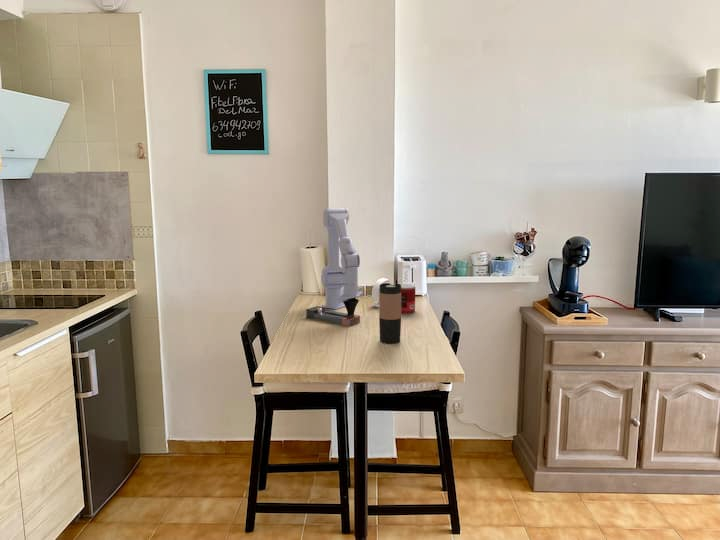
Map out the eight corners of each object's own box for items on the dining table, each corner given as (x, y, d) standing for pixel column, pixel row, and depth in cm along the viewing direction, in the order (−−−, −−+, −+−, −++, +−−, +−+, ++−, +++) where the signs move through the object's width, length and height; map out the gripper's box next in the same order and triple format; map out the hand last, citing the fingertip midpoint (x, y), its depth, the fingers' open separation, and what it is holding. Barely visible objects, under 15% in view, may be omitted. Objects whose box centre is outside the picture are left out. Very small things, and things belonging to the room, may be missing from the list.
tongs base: (306, 317, 227) (305, 308, 227) (317, 314, 233) (317, 305, 232) (349, 326, 215) (348, 316, 214) (359, 322, 220) (359, 313, 220)
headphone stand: (388, 306, 247) (389, 279, 245) (377, 308, 244) (377, 281, 242) (383, 304, 251) (383, 278, 249) (371, 305, 248) (371, 279, 246)
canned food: (415, 309, 242) (415, 284, 240) (415, 313, 234) (415, 287, 232) (397, 308, 243) (397, 283, 241) (396, 313, 235) (397, 287, 233)
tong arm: (324, 317, 227) (324, 311, 226) (329, 316, 229) (329, 310, 229) (355, 323, 218) (355, 317, 217) (360, 322, 220) (360, 315, 220)
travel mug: (386, 345, 191) (386, 288, 188) (375, 339, 198) (375, 284, 194) (405, 342, 194) (405, 285, 191) (393, 336, 201) (394, 282, 198)
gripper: (347, 287, 213) (347, 322, 215) (369, 281, 224) (369, 314, 227) (332, 285, 217) (333, 319, 219) (355, 279, 228) (355, 312, 231)
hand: (350, 316), depth 223 cm, fingers closed
